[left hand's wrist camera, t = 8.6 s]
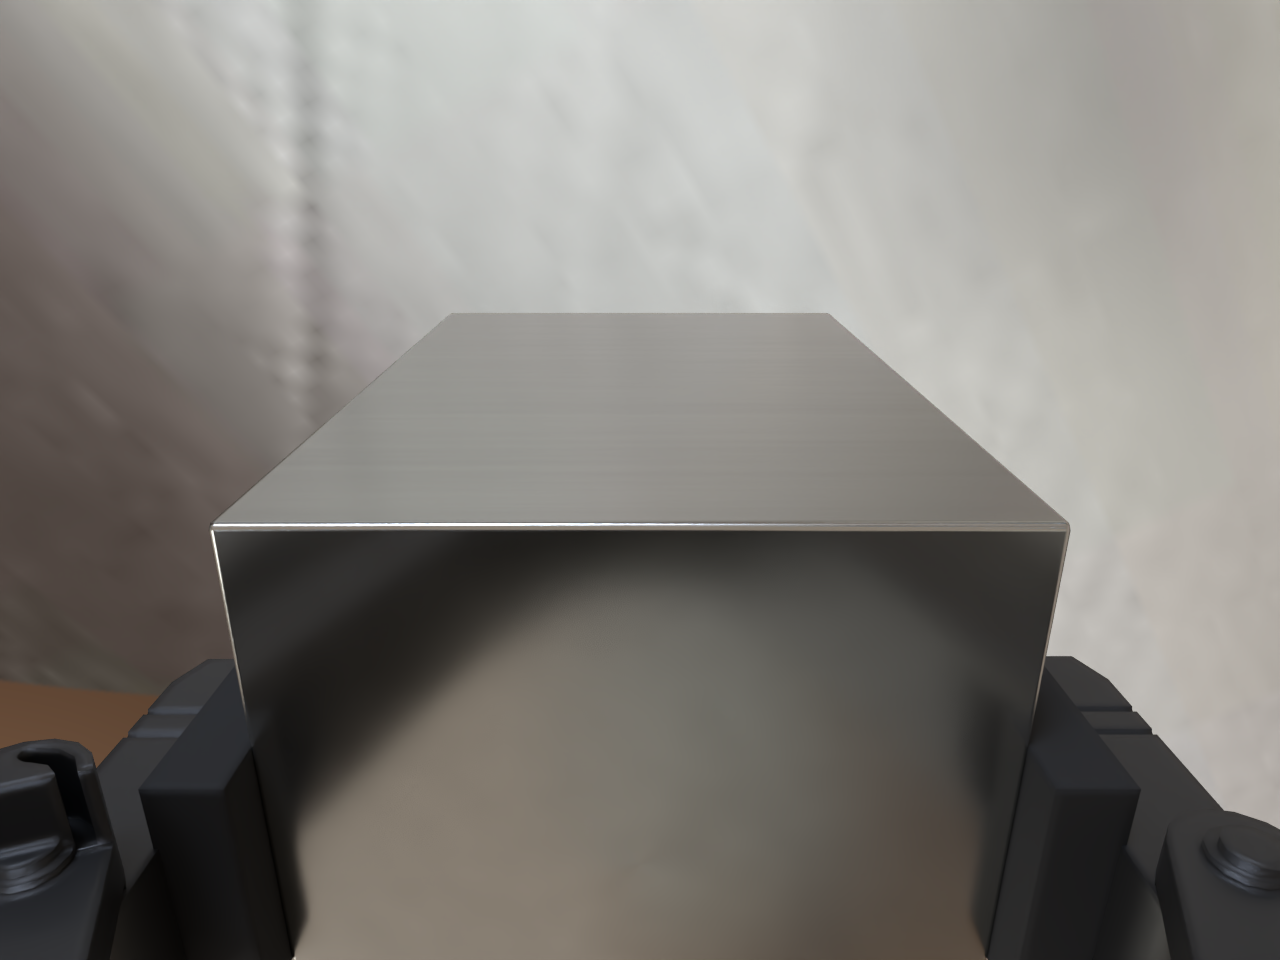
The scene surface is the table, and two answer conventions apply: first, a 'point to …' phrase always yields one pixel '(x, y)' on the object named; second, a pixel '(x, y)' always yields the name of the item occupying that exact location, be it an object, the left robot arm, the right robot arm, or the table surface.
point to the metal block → (639, 650)
